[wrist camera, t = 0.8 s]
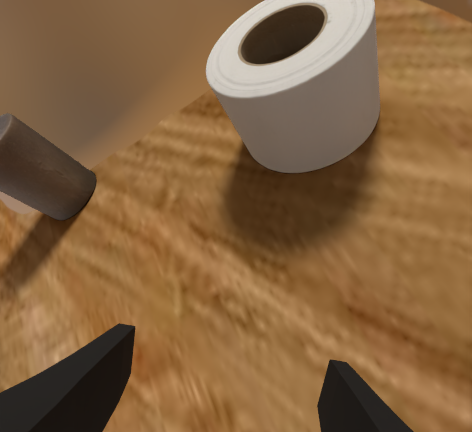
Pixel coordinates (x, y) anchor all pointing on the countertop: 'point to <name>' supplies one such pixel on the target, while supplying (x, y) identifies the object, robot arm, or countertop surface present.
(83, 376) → the robot arm
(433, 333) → the countertop surface
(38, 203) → the pillar candle
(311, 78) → the toilet paper roll
